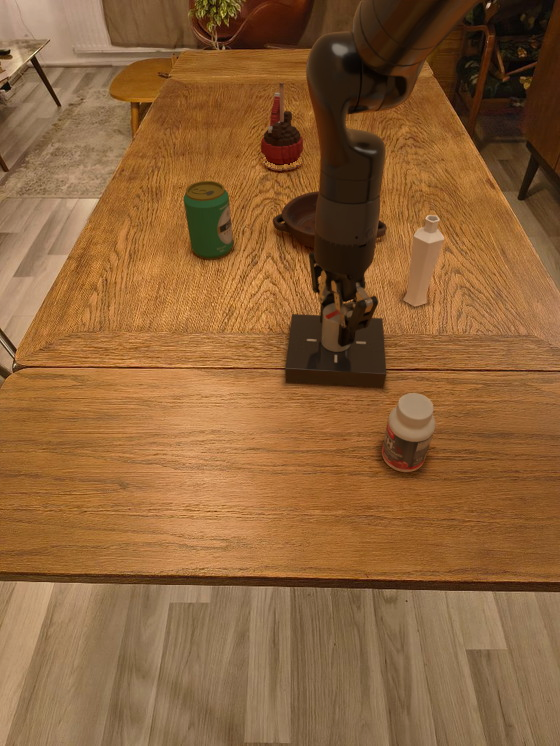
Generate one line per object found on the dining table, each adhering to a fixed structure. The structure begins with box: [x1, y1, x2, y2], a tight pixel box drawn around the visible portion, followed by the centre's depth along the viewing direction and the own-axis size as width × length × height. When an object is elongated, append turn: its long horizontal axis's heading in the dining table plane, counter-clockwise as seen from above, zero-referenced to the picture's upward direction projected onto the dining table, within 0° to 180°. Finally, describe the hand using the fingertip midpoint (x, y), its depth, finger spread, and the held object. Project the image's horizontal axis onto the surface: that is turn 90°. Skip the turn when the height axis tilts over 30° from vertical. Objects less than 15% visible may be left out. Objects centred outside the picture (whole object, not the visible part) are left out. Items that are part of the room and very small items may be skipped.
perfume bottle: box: [402, 214, 446, 308], centre depth 81 cm, size 5×4×15 cm
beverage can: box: [182, 180, 234, 260], centre depth 94 cm, size 8×8×12 cm
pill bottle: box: [381, 392, 436, 473], centre depth 61 cm, size 5×5×10 cm
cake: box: [260, 81, 304, 172], centre depth 118 cm, size 11×9×18 cm
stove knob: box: [321, 303, 352, 352], centre depth 73 cm, size 4×4×6 cm
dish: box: [272, 190, 387, 249], centre depth 100 cm, size 17×22×5 cm
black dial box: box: [284, 313, 387, 389], centre depth 76 cm, size 14×12×3 cm
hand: (336, 332), depth 74 cm, fingers closed on stove knob, 4 cm apart
